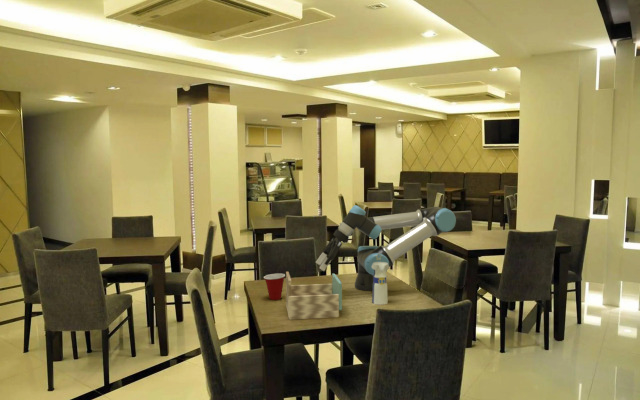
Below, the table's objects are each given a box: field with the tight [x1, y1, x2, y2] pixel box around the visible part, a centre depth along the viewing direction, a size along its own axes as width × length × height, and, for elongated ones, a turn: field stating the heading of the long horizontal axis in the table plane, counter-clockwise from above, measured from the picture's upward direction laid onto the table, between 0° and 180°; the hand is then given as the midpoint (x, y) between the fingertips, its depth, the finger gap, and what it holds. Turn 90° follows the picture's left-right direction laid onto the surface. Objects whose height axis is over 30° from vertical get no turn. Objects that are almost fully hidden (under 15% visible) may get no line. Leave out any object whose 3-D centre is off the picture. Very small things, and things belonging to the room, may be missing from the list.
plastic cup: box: [263, 273, 286, 301], centre depth 237 cm, size 11×11×12 cm
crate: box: [285, 271, 340, 321], centre depth 215 cm, size 22×20×17 cm
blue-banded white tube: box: [371, 253, 390, 306], centre depth 229 cm, size 8×9×25 cm
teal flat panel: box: [331, 273, 343, 311], centre depth 217 cm, size 2×19×12 cm, turn 8°
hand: (319, 266), depth 240 cm, fingers open, 13 cm apart
